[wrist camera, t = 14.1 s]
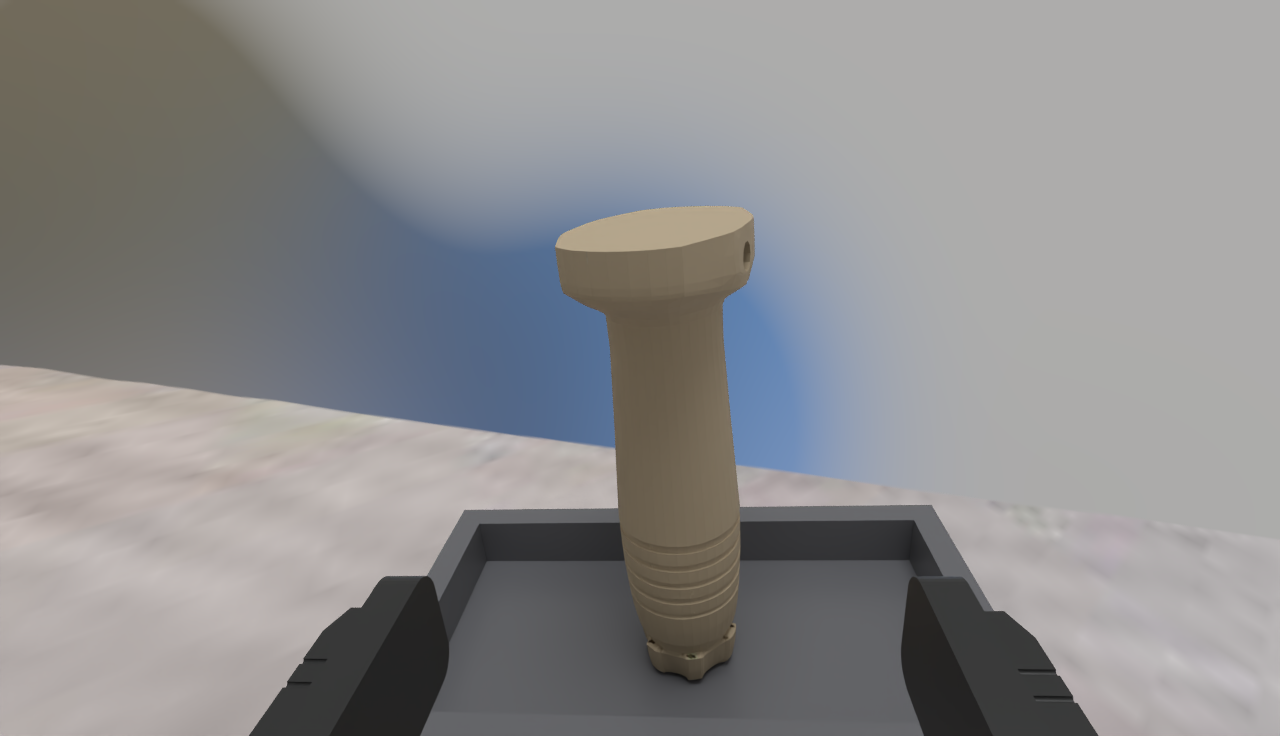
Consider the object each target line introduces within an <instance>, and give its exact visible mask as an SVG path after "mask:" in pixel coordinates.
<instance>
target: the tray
mask: <svg viewBox="0 0 1280 736" xmlns="http://www.w3.org/2000/svg"><path fill="white" fill-rule="evenodd" d="M739 511H740V570H739V588H738V599H737V606H736V612H735V616H734V619H733V621H732V623H735V624H736V634H735V643H734V647H733V652H732V655H731V657H730V658H729V659H728V660H727V661H725V662H720V663H718V664H716V665H714V666H713V667H711V668H710V669H709V670H708V671H706V672H705V674H704V675H703V678H701V679H696V680H688V679H687V678H686V677H685V676H683V675H680V674H678V673H673V672H665V673H663V672H661V671H659V670H658V669H656V668H655V667H654V666H653V665H652V662H651V659H650V656H649V652H648V647H647V642H648V640H647V638H646V636H645V633H644V630H643V626H642V625H641V622H640V620H639V617H638V614H637V611H636V608H635V605H634V601H633V598H632V594H631V589H630V585H629V579H628V574H627V569H626V564H625V558H624V552H623V545H622V536H621V529H620V519H619V510H618V508H614V509H522V510H464V512H463V514H462V516H461V517H460V519H459V521H458V523H457V524H456V526H455V528H454V530H453V531H452V533H451V535H450V537H449V538H448V540H447V542H446V544H445V545H444V547H443V549H442V551H441V552H440V554H439V556H438V558H437V559H436V561H435V563H434V565H433V566H432V568H431V570H430V572H429V573H428V575H427V576H428V577H430V578H431V579H432V581H433V583H434V586H435V589H436V593H437V597H438V601H439V605H440V609H441V613H442V617H443V621H444V625H445V629H446V633H447V637H448V642H449V663H448V669H447V673H446V677H445V680H444V682H443V685H442V687H441V689H440V691H439V694H438V696H437V698H436V701H435V703H434V705H433V708H432V710H431V712H430V714H429V717H428V719H427V721H426V724H425V726H424V728H423V731H422V733H421V735H420V736H924V735H923V732H922V729H921V727H920V724H919V721H918V718H917V716H916V713H915V710H914V707H913V705H912V702H911V699H910V696H909V694H908V691H907V688H906V684H905V680H904V676H903V671H902V663H901V642H902V634H903V625H904V616H905V608H906V599H907V590H908V584H909V580H910V579H911V577H921V576H960V577H963V578H964V579H965V580H966V581H967V582H968V584H969V585H970V587H971V589H972V591H973V592H974V594H975V596H976V598H977V599H978V601H979V603H980V605H981V606H982V608H983V610H984V611H993V609H992V607H991V606H990V604H989V602H988V600H987V599H986V597H985V595H984V594H983V592H982V590H981V589H980V587H979V585H978V583H977V582H976V580H975V578H974V577H973V575H972V573H971V572H970V570H969V568H968V566H967V565H966V563H965V561H964V560H963V558H962V556H961V555H960V553H959V551H958V549H957V548H956V546H955V544H954V543H953V541H952V539H951V538H950V536H949V534H948V532H947V531H946V529H945V527H944V526H943V524H942V522H941V521H940V519H939V517H938V515H937V514H936V512H935V510H934V509H933V507H932V505H890V506H798V507H740V510H739Z"/></svg>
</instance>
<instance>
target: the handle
mask: <svg viewBox="0 0 1280 736" xmlns="http://www.w3.org/2000/svg"><path fill="white" fill-rule="evenodd" d="M555 250H556V257H557V265H558V271H559V277H560V283H561V287H562V291H563V293H564V294H566V295H567V296H569V297H571V298H573V299H575V300H576V301H578V302H580V303H582V304H583V305H585V306H587V307H590V308H593V309H595V310H598V311H600V312H602V313H604V314H605V315H606V321H607V328H608V336H609V344H610V357H611V374H612V391H613V408H614V425H615V445H616V468H617V489H618V510H619V519H620V529H621V536H622V545H623V552H624V558H625V564H626V569H627V574H628V579H629V585H630V589H631V594H632V598H633V601H634V605H635V608H636V611H637V614H638V617H639V620H640V622H641V625H642V626H643V630H644V633H645V636H646V638H647V640H648V642H647V647H648V652H649V656H650V659H651V662H652V665H653V666H654V667H655V668H656V669H658V670H659V671H661V672H663V673H665V672H673V673H678V674H680V675H683V676H685V677H686V678H687V679H688V680H696V679H701V678H703V675H704V674H705V672H706V671H708V670H709V669H710V668H711V667H713V666H714V665H716V664H718V663H720V662H725V661H727V660H728V659H729V658H730V657H731V655H732V652H733V647H734V643H735V634H736V624H735V623H732V621H733V619H734V616H735V612H736V606H737V599H738V588H739V570H740V511H739V510H740V504H739V494H738V484H737V475H736V465H735V455H734V446H733V436H732V427H731V418H730V417H731V416H730V406H729V395H728V384H727V373H726V362H725V351H724V340H723V309H722V307H723V306H722V304H723V302H724V299H725V298H726V297H727V296H729V295H731V294H732V293H734V292H736V291H737V290H738V289H740V288H741V287H743V286H744V285H746V283H747V281H748V279H749V276H750V271H751V268H752V264H753V260H754V254H755V253H754V252H755V251H754V219H753V215H752V214H751V213H750V212H748V211H746V210H745V209H744V208H740V207H729V206H693V207H692V206H690V207H672V208H659V209H650V210H641V211H636V212H631V213H627V214H622V215H617V216H613V217H608V218H604V219H600V220H596V221H593V222H590V223H587V224H584V225H582V226H579V227H577V228H574V229H572V230H569V231H567V232H565V233H563V234H562V235H561V236H560V237H559V238H558V241H557V243H556V246H555Z"/></svg>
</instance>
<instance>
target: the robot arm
mask: <svg viewBox="0 0 1280 736" xmlns="http://www.w3.org/2000/svg"><path fill="white" fill-rule="evenodd" d="M448 663H449V642H448V637H447V633H446V629H445V625H444V621H443V617H442V613H441V609H440V605H439V601H438V597H437V593H436V589H435V586H434V583H433V581H432V579H431V578H430V577H428V576H387V577H384V578H382V579H381V580H380V581H379V582H378V584H377V585H376V586H375V588H374V589H373V591H372V593H371V594H370V596H369V597H368V599H367V600H366V602H365V603H364V605H363V606H362V608H350V609H349V610H348V611H346V612H345V613H344V614H343V615H342V616H340V617H339V618H338V619H337V620H336V621H334V622H333V623H332V624H331V625H330V626H328V627H327V628H326V629H325V630H324V631H323V632H322V633H321V635H320V636H319V637H318V639H317V640H316V642H315V643H314V644H313V646H312V647H311V649H310V650H309V652H308V653H307V654H306V656H305V657H304V662H303V664H299V666H298V667H297V668H296V670H295V671H294V673H293V674H292V676H291V677H290V678H289V680H288V681H287V687H286V688H282V690H281V691H280V693H279V694H278V695H277V697H276V698H275V700H274V701H273V702H272V704H271V705H270V707H269V708H268V710H267V711H266V712H265V714H264V715H263V717H262V718H261V719H260V721H259V722H258V724H257V725H256V726H255V728H254V729H253V731H252V732H251V734H250V735H249V736H420V735H421V733H422V731H423V728H424V726H425V724H426V721H427V719H428V717H429V714H430V712H431V710H432V708H433V705H434V703H435V701H436V698H437V696H438V694H439V691H440V689H441V687H442V685H443V682H444V680H445V677H446V673H447V669H448ZM901 663H902V671H903V676H904V680H905V684H906V688H907V691H908V694H909V696H910V699H911V702H912V705H913V707H914V710H915V713H916V716H917V718H918V721H919V724H920V727H921V729H922V732H923V735H924V736H1098V734H1097V733H1096V731H1095V730H1094V728H1093V727H1092V725H1091V724H1090V722H1089V720H1088V719H1087V717H1086V716H1085V714H1084V713H1083V711H1082V710H1081V708H1080V706H1079V705H1078V703H1074V701H1073V696H1072V694H1071V692H1070V691H1069V689H1068V688H1067V686H1066V685H1065V683H1064V682H1063V680H1062V678H1061V677H1060V676H1057V674H1056V669H1055V668H1054V666H1053V664H1052V663H1051V661H1050V660H1049V658H1048V657H1047V655H1046V654H1045V652H1044V650H1043V649H1042V647H1041V646H1040V644H1039V643H1038V641H1037V640H1036V638H1035V637H1034V636H1033V635H1031V634H1030V633H1029V632H1028V631H1027V630H1026V629H1024V628H1023V627H1022V626H1021V625H1020V624H1018V623H1017V622H1016V621H1015V620H1014V619H1013V618H1011V617H1010V616H1009V615H1008V614H1007V613H1005V612H1004V611H984V610H983V608H982V606H981V605H980V603H979V601H978V599H977V598H976V596H975V594H974V592H973V591H972V589H971V587H970V585H969V584H968V582H967V581H966V580H965V579H964V578H963V577H960V576H921V577H911V579H910V580H909V584H908V590H907V599H906V608H905V616H904V625H903V634H902V642H901Z"/></svg>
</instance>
